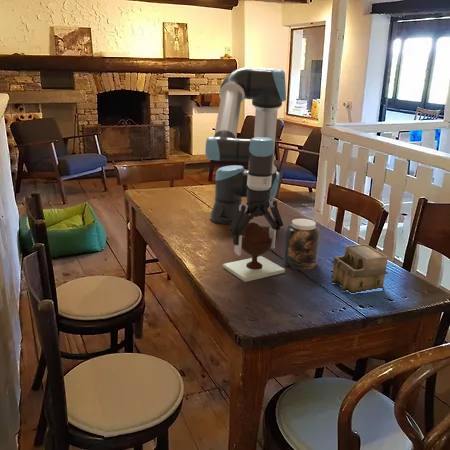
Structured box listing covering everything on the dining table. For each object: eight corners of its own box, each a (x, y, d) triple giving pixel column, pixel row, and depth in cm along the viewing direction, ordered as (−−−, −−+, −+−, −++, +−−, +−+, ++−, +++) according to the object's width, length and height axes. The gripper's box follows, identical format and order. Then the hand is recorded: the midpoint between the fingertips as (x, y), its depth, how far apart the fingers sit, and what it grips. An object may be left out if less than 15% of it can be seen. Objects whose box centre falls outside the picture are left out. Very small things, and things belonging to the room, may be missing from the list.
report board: (261, 259, 174) (261, 255, 173) (284, 272, 163) (284, 269, 163) (222, 267, 165) (222, 263, 165) (244, 281, 155) (245, 278, 155)
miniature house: (362, 273, 166) (366, 241, 163) (388, 291, 154) (393, 256, 150) (323, 277, 161) (326, 244, 158) (346, 296, 149) (351, 261, 145)
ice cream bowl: (249, 275, 157) (251, 230, 153) (232, 262, 166) (233, 220, 162) (276, 269, 162) (280, 226, 157) (259, 258, 171) (261, 216, 167)
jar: (276, 259, 175) (280, 218, 170) (305, 255, 179) (309, 215, 174) (294, 271, 164) (298, 229, 160) (323, 267, 169) (328, 226, 164)
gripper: (232, 194, 146) (229, 261, 153) (297, 186, 159) (291, 248, 166) (219, 188, 152) (216, 252, 159) (282, 181, 165) (277, 240, 172)
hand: (254, 250), depth 162 cm, fingers open, 13 cm apart
